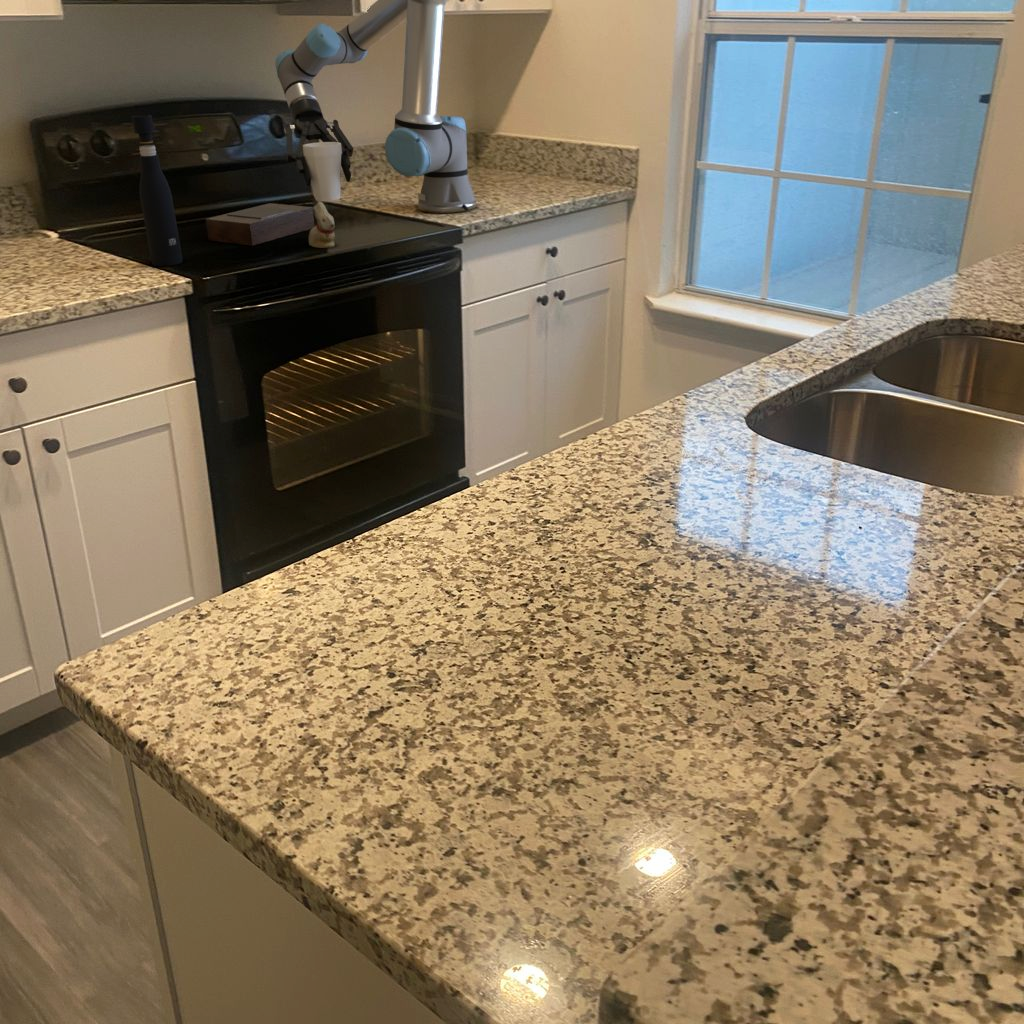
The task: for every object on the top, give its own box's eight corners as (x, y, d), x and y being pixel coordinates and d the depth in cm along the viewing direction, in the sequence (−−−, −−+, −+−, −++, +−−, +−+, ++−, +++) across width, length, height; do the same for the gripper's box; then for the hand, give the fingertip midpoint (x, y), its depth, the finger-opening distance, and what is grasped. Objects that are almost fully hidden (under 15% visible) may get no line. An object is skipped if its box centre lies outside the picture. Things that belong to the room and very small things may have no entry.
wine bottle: (158, 259, 226) (131, 114, 212) (186, 259, 226) (162, 113, 212) (148, 266, 220) (120, 117, 207) (177, 266, 220) (151, 117, 206)
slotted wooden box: (314, 227, 253) (312, 206, 251) (252, 245, 237) (249, 222, 234) (272, 223, 260) (269, 202, 257) (208, 240, 243) (205, 218, 241)
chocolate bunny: (314, 249, 231) (309, 204, 226) (307, 243, 237) (302, 198, 233) (338, 247, 232) (333, 202, 228) (330, 240, 239) (326, 196, 235)
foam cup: (350, 195, 261) (345, 141, 256) (341, 201, 253) (336, 146, 247) (314, 196, 262) (308, 142, 257) (304, 202, 254) (297, 147, 248)
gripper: (344, 114, 266) (369, 185, 260) (260, 121, 258) (283, 194, 252) (348, 93, 260) (374, 166, 254) (261, 99, 251) (286, 174, 246)
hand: (329, 180), depth 253 cm, fingers closed on foam cup, 9 cm apart
